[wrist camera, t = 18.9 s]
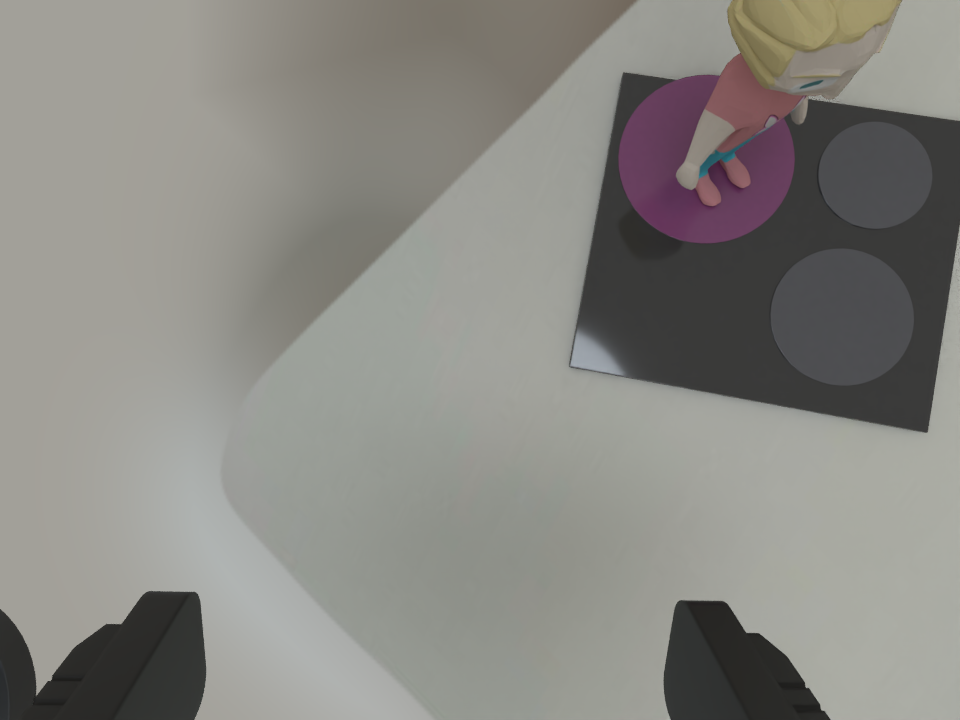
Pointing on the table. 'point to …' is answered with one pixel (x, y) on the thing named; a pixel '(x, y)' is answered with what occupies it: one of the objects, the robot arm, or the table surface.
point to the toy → (780, 75)
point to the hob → (776, 257)
